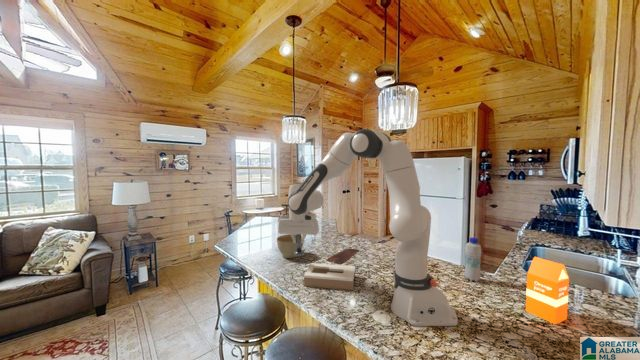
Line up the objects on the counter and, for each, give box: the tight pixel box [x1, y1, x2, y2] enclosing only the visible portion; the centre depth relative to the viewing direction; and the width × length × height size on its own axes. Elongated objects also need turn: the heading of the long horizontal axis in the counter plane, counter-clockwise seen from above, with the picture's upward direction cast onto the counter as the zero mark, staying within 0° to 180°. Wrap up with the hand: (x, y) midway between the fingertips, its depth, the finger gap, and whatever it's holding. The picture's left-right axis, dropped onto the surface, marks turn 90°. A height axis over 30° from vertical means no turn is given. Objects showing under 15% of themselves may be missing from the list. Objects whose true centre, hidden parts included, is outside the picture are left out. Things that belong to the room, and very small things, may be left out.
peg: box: [294, 234, 305, 258], centre depth 125 cm, size 5×5×11 cm
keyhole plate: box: [303, 262, 356, 291], centre depth 118 cm, size 22×14×5 cm, turn 78°
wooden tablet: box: [326, 248, 359, 265], centre depth 150 cm, size 26×2×10 cm
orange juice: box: [525, 256, 570, 325], centre depth 89 cm, size 8×9×20 cm
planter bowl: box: [276, 234, 304, 259], centre depth 151 cm, size 16×16×11 cm
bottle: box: [464, 237, 482, 283], centre depth 117 cm, size 7×7×20 cm
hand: (298, 242), depth 125 cm, fingers closed on peg, 2 cm apart
